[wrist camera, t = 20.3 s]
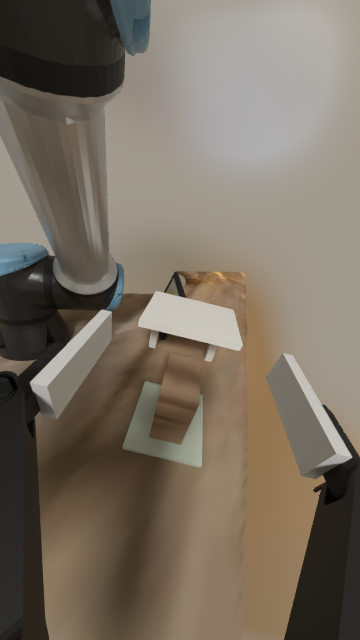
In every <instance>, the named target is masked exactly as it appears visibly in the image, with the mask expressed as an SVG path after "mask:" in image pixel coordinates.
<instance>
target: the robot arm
mask: <svg viewBox="0 0 360 640" xmlns="http://www.w3.org/2000/svg"><path fill="white" fill-rule="evenodd" d="M150 4H151V0H0V136H1V138H2V140H3V142H4V145H5V147H6V149H7V151H8V154H9V156H10V158H11V160H12V162H13V164H14V167H15V169H16V171H17V173H18V175H19V177H20V180H21V182H22V184H23V186H24V188H25V191H26V192H27V195H28V197H29V199H30V201H31V204H32V206H33V208H34V210H35V212H36V214H37V217H38V219H39V221H40V223H41V225H42V227H43V230H44V232H45V234H46V236H47V238H48V241H49V243H50V245H51V247H52V249H53V251H54V254H55V256H50V255H48V254H49V253H48V251H47V249H46V248H45V247H44V246H42V245H38V244H32V243H9V244H0V356H2V357H3V358H6V359H9V360H16V361H27V360H34V359H37V360H36V361H34V362H33V363H32V364H31V365H30V366H29V367H28V368H27V369H26V370H24V371H23V372H22V373H21V374H20V375H19V376H18V377H17V374H15V373H13V372H10V371H2V372H0V640H49V635H48V630H47V626H46V620H45V606H44V586H43V566H42V546H41V526H40V506H39V486H38V467H37V447H36V427H35V418H34V417H35V416H36V415H37V414H38V412H39V411H40V412H41V415H42V417H46V418H51V419H55V420H57V419H58V417H59V416H60V415H61V413H62V412H63V410H64V409H65V407H66V406H67V404H68V403H69V401H70V400H71V399H72V397H73V396H74V394H75V393H76V391H77V390H78V388H79V387H80V385H81V384H82V383H83V381H84V380H85V378H86V377H87V375H88V374H89V372H90V371H91V369H92V368H93V367H94V365H95V364H96V362H97V361H98V359H99V358H100V356H101V355H102V353H103V352H104V351H105V349H106V348H107V346H108V345H109V343H110V342H111V340H112V312H111V311H113V310H116V309H118V308H119V306H120V303H121V300H122V293H123V286H124V270H123V267H122V265H120V264H118V263H116V262H115V260H114V258H113V257H112V256H111V255H110V253H109V232H108V206H107V205H108V203H107V175H106V146H105V117H104V106H105V105H106V104H107V103H108V102H109V101H111V100H112V99H113V98H114V97H115V96H116V95H117V94H118V93H119V92H120V91H121V89H122V88H123V84H124V68H125V50H126V51H127V52H128V54H130V55H132V56H134V55H135V54H136V53H144V52H145V51H146V50H147V48H148V43H149V36H150V33H149V30H150ZM57 309H70V310H98V311H100V312H99V313H98V314H97V315H96V316H95V317H94V318H93V319H92V320H91V321H90V322H89V323H88V324H87V325H86V326H85V327H84V328H83V329H82V330H81V331H80V332H79V333H78V334H77V335H76V336H75V337H74V338H73V339H72V340H71V341H70V342H69V343H68V344H66V343H67V342H68V340H69V329H68V326H67V324H66V323H65V321H64V320H63V318H62V316H61V315H60V313H59V312H58V310H57ZM266 378H267V381H268V384H269V387H270V390H271V392H272V395H273V398H274V401H275V403H276V406H277V409H278V412H279V414H280V417H281V420H282V423H283V426H284V428H285V431H286V434H287V437H288V440H289V442H290V445H291V448H292V451H293V454H294V456H295V459H296V462H297V465H298V467H299V470H300V473H301V476H304V477H308V478H313V479H317V478H318V477H320V476H322V475H323V476H324V478H325V480H326V482H325V483H323V484H321V485H319V486H317V487H315V489H314V490H313V491H314V492H318V491H319V490H321V492H320V495H319V501H318V505H317V508H316V512H315V517H314V521H313V525H312V529H311V533H310V537H309V541H308V545H307V549H306V554H305V557H304V561H303V565H302V569H301V574H300V577H299V581H298V586H297V590H296V594H295V598H294V602H293V606H292V610H291V614H290V618H289V622H288V626H287V630H286V634H285V639H284V640H360V457H359V455H358V454H357V452H356V450H355V449H354V447H353V445H352V444H351V442H350V441H349V439H348V437H347V436H346V434H345V433H344V432H343V429H342V428H341V426H340V425H339V423H338V421H337V420H336V418H335V416H334V415H333V413H332V412H331V411H330V410H329V409H328V408H327V407H326V406H325V405H322V404H321V403H320V401H319V399H318V398H317V396H316V394H315V393H314V391H313V389H312V388H311V386H310V384H309V382H308V381H307V379H306V377H305V376H304V374H303V372H302V371H301V369H300V367H299V366H298V364H297V362H296V360H295V359H294V357H293V355H289V354H285V353H283V354H282V355H281V356H280V358H279V359H278V361H277V362H276V363H275V365H274V366H273V368H272V369H271V371H270V372H269V373H268V375H267V376H266Z"/></svg>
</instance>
